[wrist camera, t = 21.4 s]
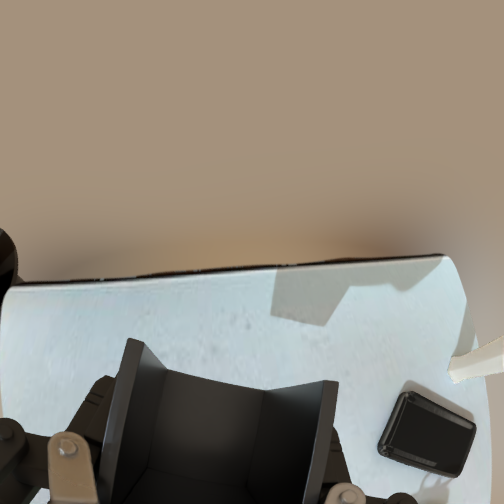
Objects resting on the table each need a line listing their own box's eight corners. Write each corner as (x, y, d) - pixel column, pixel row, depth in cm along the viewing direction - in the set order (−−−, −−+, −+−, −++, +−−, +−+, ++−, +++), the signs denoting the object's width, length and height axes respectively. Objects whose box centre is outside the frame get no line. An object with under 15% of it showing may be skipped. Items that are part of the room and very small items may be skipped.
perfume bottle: (471, 367, 30) (558, 333, 17) (458, 391, 28) (552, 363, 15) (455, 345, 31) (543, 304, 18) (442, 368, 29) (538, 333, 16)
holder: (137, 470, 11) (91, 525, 4) (159, 367, 14) (127, 336, 7) (251, 492, 12) (303, 558, 5) (271, 391, 15) (339, 381, 8)
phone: (407, 388, 26) (478, 425, 25) (401, 389, 27) (472, 425, 26) (379, 454, 23) (458, 480, 21) (373, 453, 24) (452, 479, 22)
